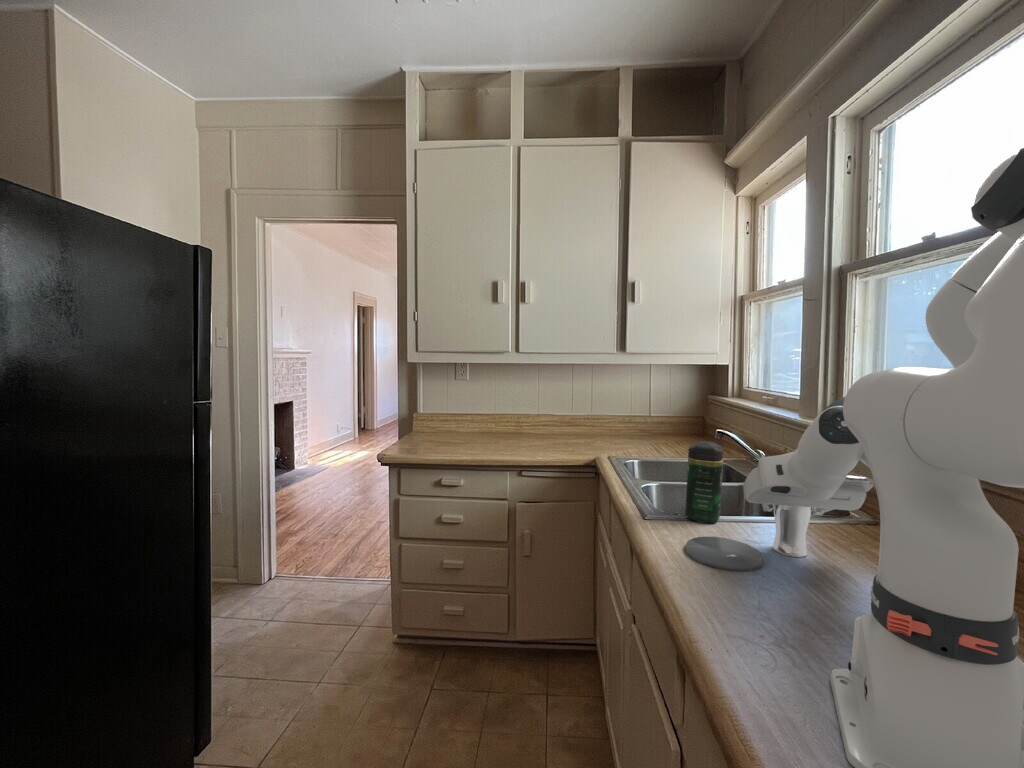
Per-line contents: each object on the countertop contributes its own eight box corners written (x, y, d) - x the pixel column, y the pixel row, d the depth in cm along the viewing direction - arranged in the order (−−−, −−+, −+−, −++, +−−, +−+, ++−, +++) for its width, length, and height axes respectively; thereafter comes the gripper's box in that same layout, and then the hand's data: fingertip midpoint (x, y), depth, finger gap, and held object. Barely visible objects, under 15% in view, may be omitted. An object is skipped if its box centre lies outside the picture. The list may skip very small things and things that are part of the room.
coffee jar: (719, 526, 112) (722, 447, 110) (683, 520, 115) (686, 444, 114) (721, 514, 120) (724, 440, 119) (688, 508, 124) (691, 437, 123)
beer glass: (815, 560, 94) (820, 485, 93) (776, 556, 96) (780, 482, 95) (801, 546, 101) (805, 475, 100) (765, 542, 102) (769, 473, 101)
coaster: (753, 578, 86) (753, 573, 86) (675, 556, 95) (675, 551, 95) (769, 553, 97) (769, 548, 97) (698, 535, 106) (698, 531, 106)
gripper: (872, 464, 88) (844, 500, 98) (750, 456, 92) (736, 492, 103) (883, 495, 84) (853, 529, 94) (756, 486, 88) (740, 519, 98)
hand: (791, 510), depth 98 cm, fingers open, 8 cm apart
